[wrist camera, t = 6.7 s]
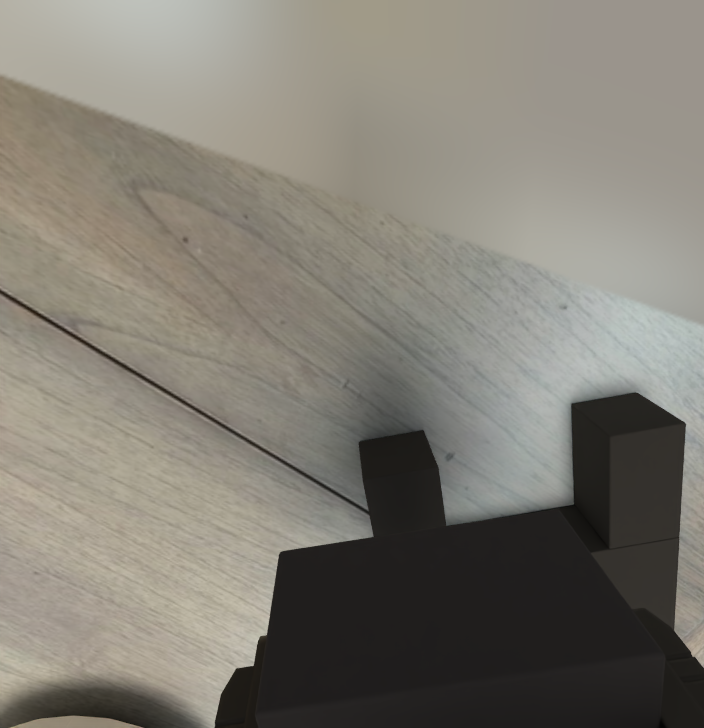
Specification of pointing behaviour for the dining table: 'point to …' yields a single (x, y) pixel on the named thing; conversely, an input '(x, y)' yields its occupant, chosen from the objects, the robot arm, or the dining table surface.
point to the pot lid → (75, 723)
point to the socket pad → (591, 493)
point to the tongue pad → (456, 634)
